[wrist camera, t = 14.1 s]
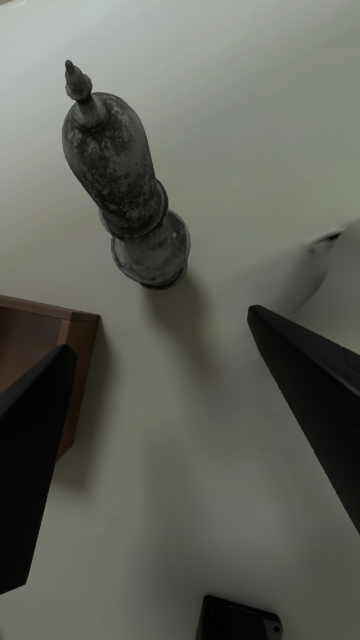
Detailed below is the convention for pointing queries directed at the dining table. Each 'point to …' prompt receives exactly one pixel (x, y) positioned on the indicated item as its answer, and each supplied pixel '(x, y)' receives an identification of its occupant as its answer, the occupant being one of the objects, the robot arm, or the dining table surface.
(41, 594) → the dining table surface
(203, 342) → the dining table surface
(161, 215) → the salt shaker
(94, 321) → the wooden box
